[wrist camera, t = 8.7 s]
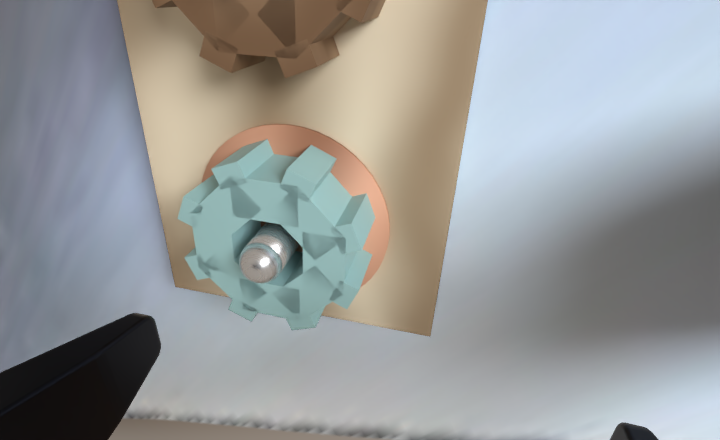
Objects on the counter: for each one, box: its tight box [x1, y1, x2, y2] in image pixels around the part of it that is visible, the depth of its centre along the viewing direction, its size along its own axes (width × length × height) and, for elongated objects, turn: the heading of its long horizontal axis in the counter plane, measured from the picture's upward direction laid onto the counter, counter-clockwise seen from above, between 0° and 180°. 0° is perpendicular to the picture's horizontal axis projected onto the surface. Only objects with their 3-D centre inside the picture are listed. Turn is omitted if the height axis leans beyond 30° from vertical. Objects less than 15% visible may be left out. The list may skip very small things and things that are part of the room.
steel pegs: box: [239, 222, 299, 284], centre depth 14 cm, size 2×12×4 cm, turn 177°
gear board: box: [117, 0, 488, 336], centre depth 17 cm, size 13×20×2 cm, turn 177°
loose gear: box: [178, 139, 375, 330], centre depth 17 cm, size 7×7×2 cm
